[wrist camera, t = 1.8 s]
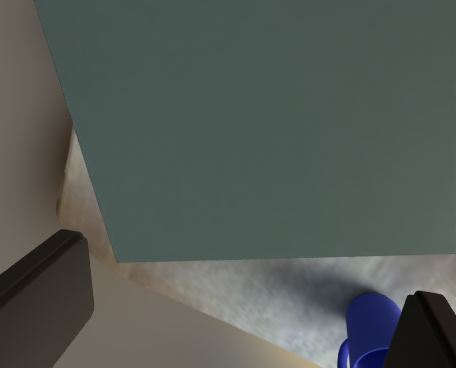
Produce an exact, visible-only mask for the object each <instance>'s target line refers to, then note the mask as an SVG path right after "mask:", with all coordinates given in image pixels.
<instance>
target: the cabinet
mask: <svg viewBox="0 0 456 368" xmlns="http://www.w3.org/2000/svg"><path fill="white" fill-rule="evenodd" d="M34 2H35V5H36V8H37V12H38V15H39V18H40V21H41V24H42V27H43V31H44V34H45V37H46V40H47V43H48V46H49V49H50V53H51V56H52V59H53V62H54V65H55V68H56V72H57V75H58V78H59V81H60V84H61V87H62V91H63V94H64V97H65V100H66V103H67V106H68V109H69V113H70V116H71V119H72V122H73V125H74V128H75V132H76V135H77V138H78V141H79V144H80V147H81V151H82V154H83V157H84V160H85V163H86V166H87V169H88V173H89V176H90V179H91V182H92V185H93V188H94V192H95V195H96V198H97V201H98V204H99V207H100V211H101V214H102V217H103V220H104V223H105V226H106V229H107V233H108V236H109V239H110V242H111V245H112V248H113V252H114V255H115V258H116V261H117V263H130V262H167V261H205V260H243V259H280V258H318V257H356V256H394V255H431V254H456V0H34Z"/></svg>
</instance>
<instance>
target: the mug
mask: <svg viewBox="0 0 456 368" xmlns="http://www.w3.org/2000/svg"><path fill="white" fill-rule="evenodd" d="M400 315H401V310H400V309H399V307H398V306H397V305H396V304H395V303H394V302H393V301H392V300H391V299H389V298H388V297H386V296H383V295H380V294H372V293H371V294H364V295H361V296H359V297H357V298H355V299H354V300H353V301H352V302H351V303H350V304H349V306H348V308H347V312H346V324H347V336H348V338H347V339H346V340H345V341H344V342H343V343H342V345H341V347H340V349H339V353H338V361H337V368H347V357H348V353H349V361H350V368H382V366H383V363H384V360H385V357H386V354H387V352H388V349H389V346H390V343H391V340H392V337H393V335H394V332H395V329H396V326H397V323H398V321H399V318H400Z"/></svg>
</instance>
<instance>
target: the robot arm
mask: <svg viewBox="0 0 456 368" xmlns="http://www.w3.org/2000/svg"><path fill="white" fill-rule="evenodd" d="M93 311H94V299H93V289H92V280H91V270H90V261H89V250H88V242H87V239H86V238H84V237H83V234H82V233H81V232H77V231H71V230H65V229H61V230H59V231H58V232H56V233H55V234H54V235H52V236H51V237H50V238H48V239H47V240H46V241H44V242H43V243H42V244H40V245H39V246H38V247H36V248H35V249H34V250H33V251H31V252H30V253H28V254H27V255H26V256H24V257H23V258H22V259H20V260H19V261H18V262H17V263H15V264H14V265H12V266H11V267H10V268H9V269H7V270H6V271H4V272H3V273H2V274H1V275H0V368H52V367H53V366H54V364H55V363H56V362H57V360H58V359H59V358H60V357H61V355H62V354H63V353H64V352H65V350H66V349H67V348H68V346H69V345H70V344H71V342H72V341H73V340H74V339H75V337H76V336H77V335H78V333H79V332H80V331H81V329H82V328H83V327H84V326H85V324H86V323H87V322H88V320H89V319H90V317H91V316H92V314H93ZM382 368H456V315H455V313H454V311H453V310H452V308H451V306H450V305H449V303H448V302H447V300H446V298H445V297H444V296H443V295H441V294H437V293H431V292H425V291H416V292H415V293H414V295H408V296H407V298H406V301H405V304H404V306H403V309H402V312H401V315H400V318H399V321H398V323H397V326H396V329H395V332H394V335H393V337H392V340H391V343H390V346H389V349H388V352H387V354H386V357H385V360H384V363H383V366H382Z"/></svg>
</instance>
